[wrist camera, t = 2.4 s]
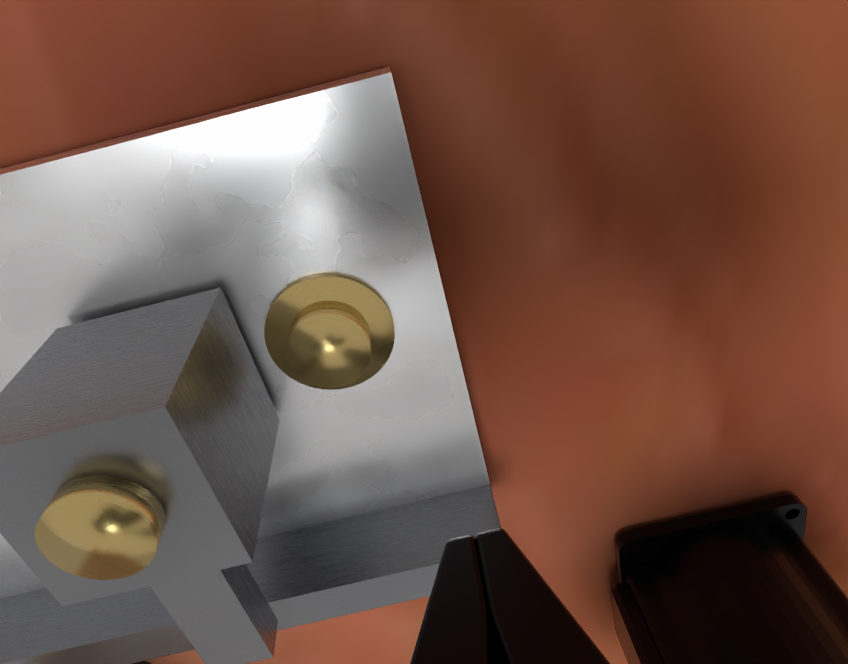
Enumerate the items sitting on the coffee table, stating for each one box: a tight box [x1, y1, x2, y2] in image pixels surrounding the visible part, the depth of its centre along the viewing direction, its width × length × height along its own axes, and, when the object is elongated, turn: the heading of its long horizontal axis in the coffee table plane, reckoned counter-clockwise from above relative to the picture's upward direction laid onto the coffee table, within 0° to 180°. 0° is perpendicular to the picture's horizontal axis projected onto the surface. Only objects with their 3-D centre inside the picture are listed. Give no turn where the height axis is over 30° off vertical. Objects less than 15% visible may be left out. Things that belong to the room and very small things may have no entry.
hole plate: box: [0, 67, 501, 664], centre depth 15 cm, size 18×13×3 cm
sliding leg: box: [0, 287, 280, 664], centre depth 14 cm, size 4×8×5 cm, turn 13°
